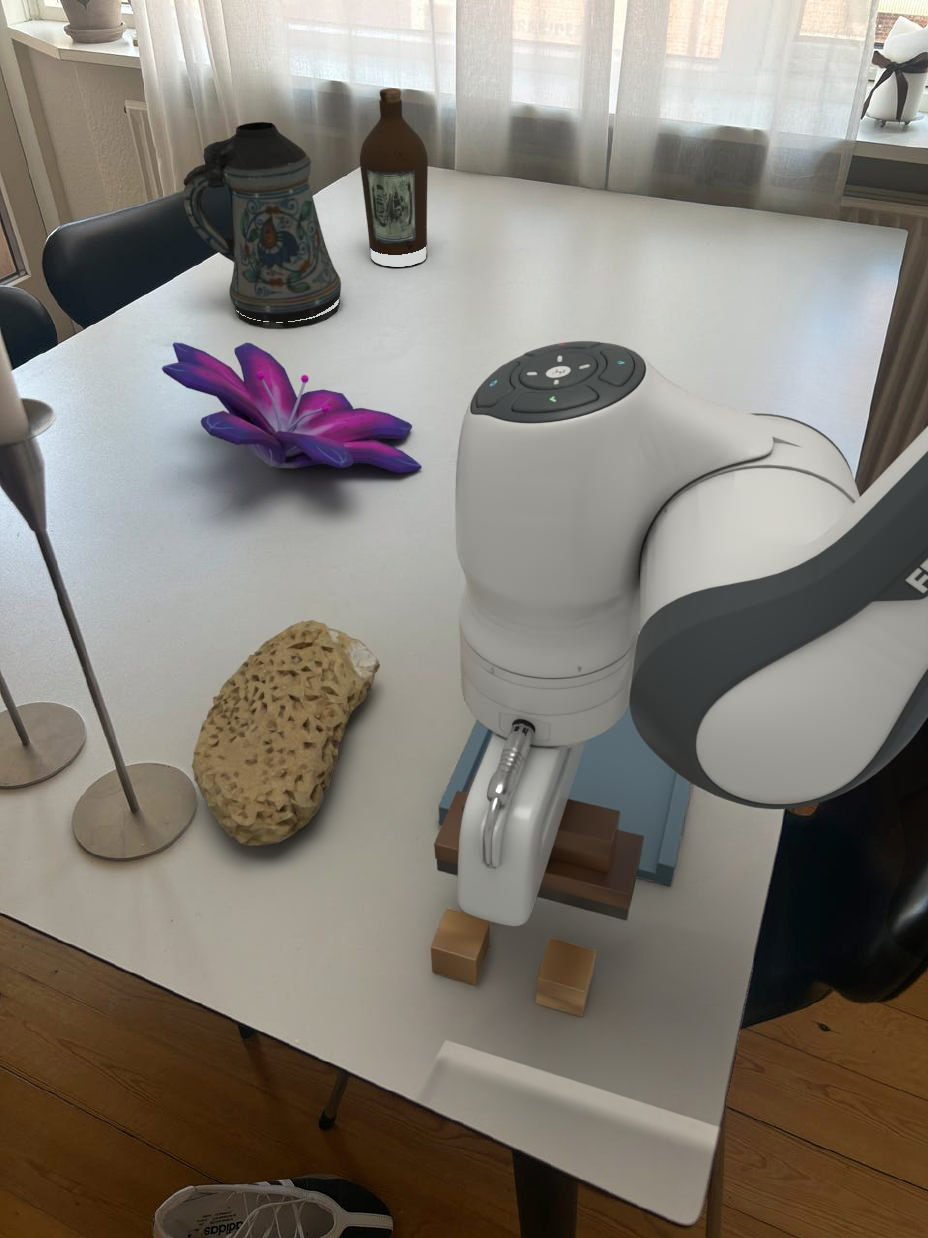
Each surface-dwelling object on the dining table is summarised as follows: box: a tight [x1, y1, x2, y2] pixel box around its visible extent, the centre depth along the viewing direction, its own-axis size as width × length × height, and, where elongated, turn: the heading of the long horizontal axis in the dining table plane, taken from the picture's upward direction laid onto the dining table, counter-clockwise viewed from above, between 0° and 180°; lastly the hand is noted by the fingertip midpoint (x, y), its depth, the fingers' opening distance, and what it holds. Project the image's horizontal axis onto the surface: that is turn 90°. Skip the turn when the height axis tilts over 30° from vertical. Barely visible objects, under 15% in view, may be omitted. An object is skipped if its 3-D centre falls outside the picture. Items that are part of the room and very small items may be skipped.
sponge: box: [191, 619, 381, 846], centre depth 74 cm, size 13×8×20 cm
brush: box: [433, 776, 644, 922], centre depth 58 cm, size 12×4×6 cm, turn 72°
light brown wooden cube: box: [535, 936, 597, 1018], centre depth 60 cm, size 3×3×3 cm
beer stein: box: [182, 121, 342, 330], centre depth 136 cm, size 16×19×25 cm
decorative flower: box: [161, 342, 423, 474], centre depth 108 cm, size 31×31×10 cm
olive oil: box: [359, 87, 429, 255], centre depth 153 cm, size 11×11×25 cm
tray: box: [438, 705, 692, 887], centre depth 76 cm, size 17×22×2 cm
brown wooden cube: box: [430, 907, 491, 986], centre depth 62 cm, size 3×3×3 cm
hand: (540, 831), depth 58 cm, fingers closed on brush, 2 cm apart
